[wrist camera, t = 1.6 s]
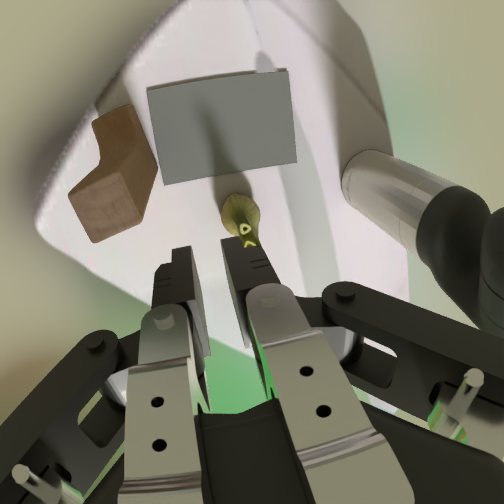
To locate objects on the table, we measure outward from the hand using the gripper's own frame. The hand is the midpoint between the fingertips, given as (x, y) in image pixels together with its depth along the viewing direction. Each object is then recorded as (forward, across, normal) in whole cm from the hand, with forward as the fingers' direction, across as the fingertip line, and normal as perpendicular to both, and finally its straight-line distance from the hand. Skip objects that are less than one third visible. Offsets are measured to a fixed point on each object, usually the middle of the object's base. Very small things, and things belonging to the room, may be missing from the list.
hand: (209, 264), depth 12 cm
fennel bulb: (+29, -5, +9) cm, 31 cm away
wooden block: (+29, +7, -2) cm, 30 cm away
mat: (+29, -4, -2) cm, 29 cm away
